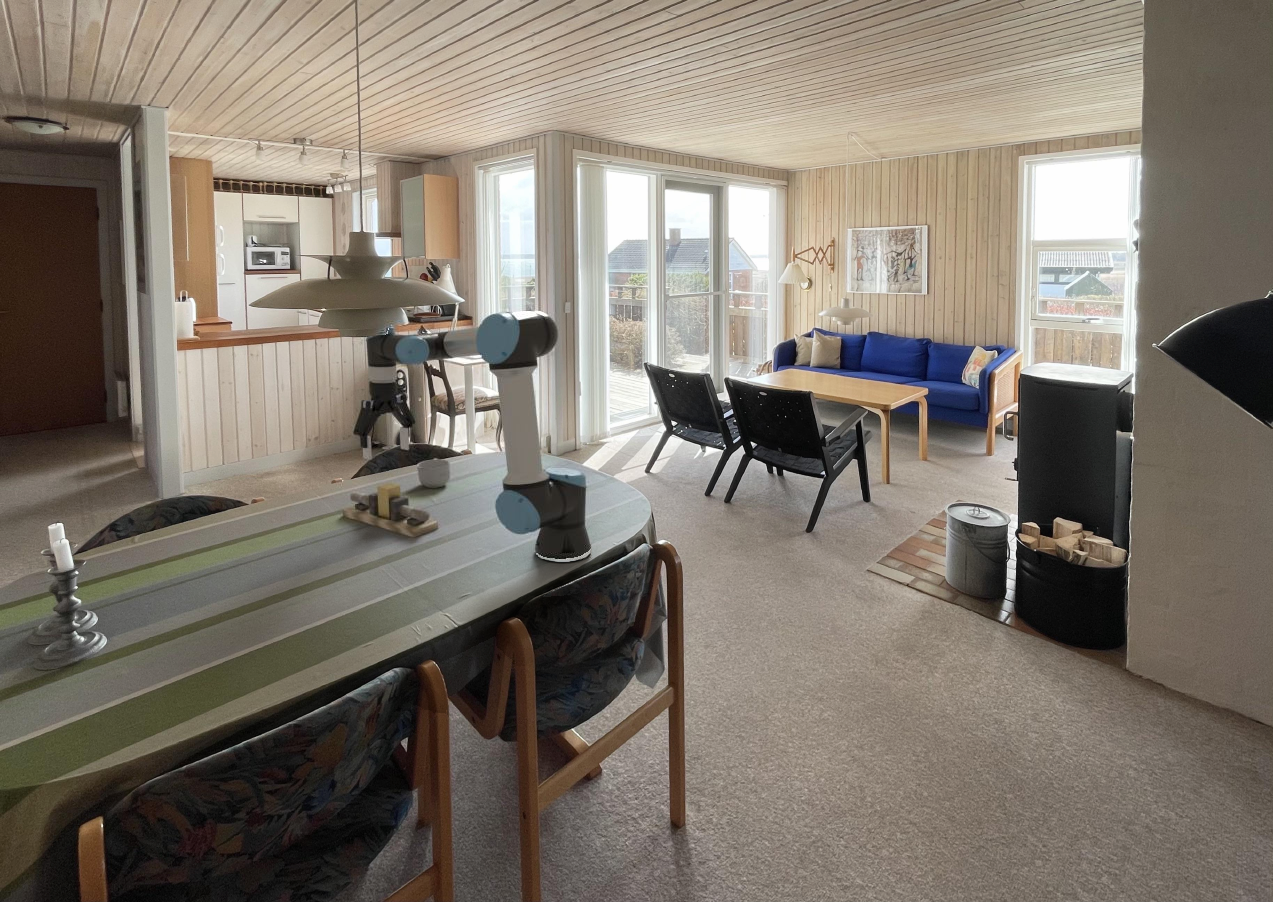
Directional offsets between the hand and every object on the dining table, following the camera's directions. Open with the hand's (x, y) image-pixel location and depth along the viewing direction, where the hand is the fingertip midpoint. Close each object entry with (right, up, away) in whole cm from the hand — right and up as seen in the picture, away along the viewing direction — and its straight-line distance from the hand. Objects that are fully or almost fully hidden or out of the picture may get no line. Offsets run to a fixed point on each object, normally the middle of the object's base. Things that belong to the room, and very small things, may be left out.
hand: (386, 453), depth 216 cm
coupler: (0, -18, +4) cm, 19 cm away
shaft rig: (-1, -20, +5) cm, 21 cm away
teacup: (+3, -11, +43) cm, 44 cm away
